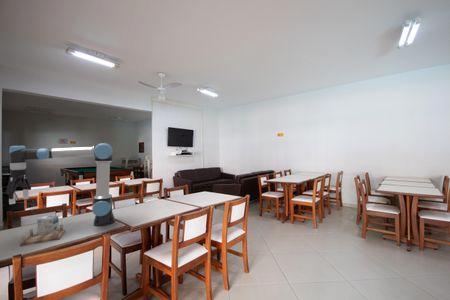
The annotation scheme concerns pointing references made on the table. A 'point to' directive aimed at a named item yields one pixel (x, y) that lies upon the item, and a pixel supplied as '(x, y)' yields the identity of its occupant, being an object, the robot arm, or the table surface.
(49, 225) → the light bulb box
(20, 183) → the robot arm
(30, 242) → the dowel base
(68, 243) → the table surface
